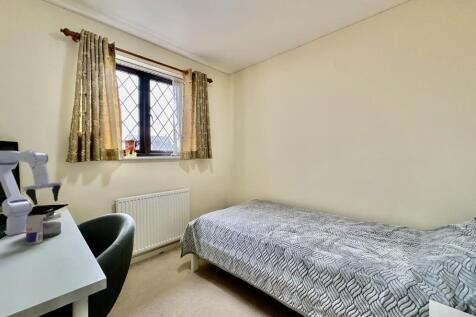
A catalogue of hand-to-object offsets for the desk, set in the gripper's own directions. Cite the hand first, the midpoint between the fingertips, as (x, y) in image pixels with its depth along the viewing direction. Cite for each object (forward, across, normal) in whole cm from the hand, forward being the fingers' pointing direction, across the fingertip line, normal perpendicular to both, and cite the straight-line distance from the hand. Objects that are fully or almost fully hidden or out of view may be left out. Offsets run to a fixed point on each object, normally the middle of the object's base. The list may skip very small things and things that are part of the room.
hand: (46, 202), depth 106 cm
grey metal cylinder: (+15, -1, +8) cm, 17 cm away
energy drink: (+17, -7, -2) cm, 19 cm away
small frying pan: (+7, 0, +4) cm, 8 cm away
